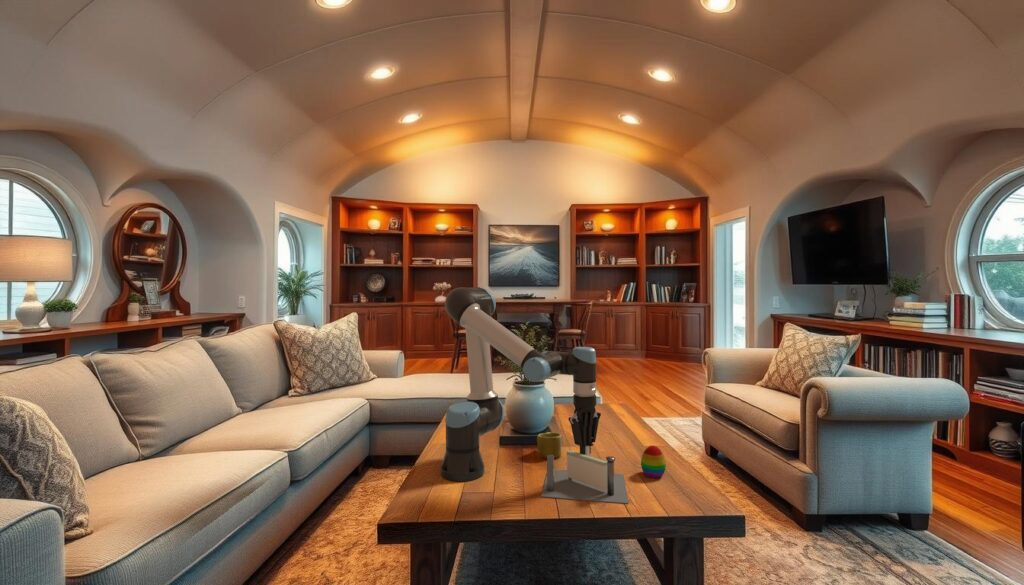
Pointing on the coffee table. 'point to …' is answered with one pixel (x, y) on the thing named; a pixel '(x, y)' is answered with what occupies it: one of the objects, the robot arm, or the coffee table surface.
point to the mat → (585, 489)
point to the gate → (587, 469)
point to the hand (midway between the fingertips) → (585, 464)
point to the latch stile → (550, 472)
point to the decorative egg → (653, 462)
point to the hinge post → (610, 475)
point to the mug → (549, 444)
